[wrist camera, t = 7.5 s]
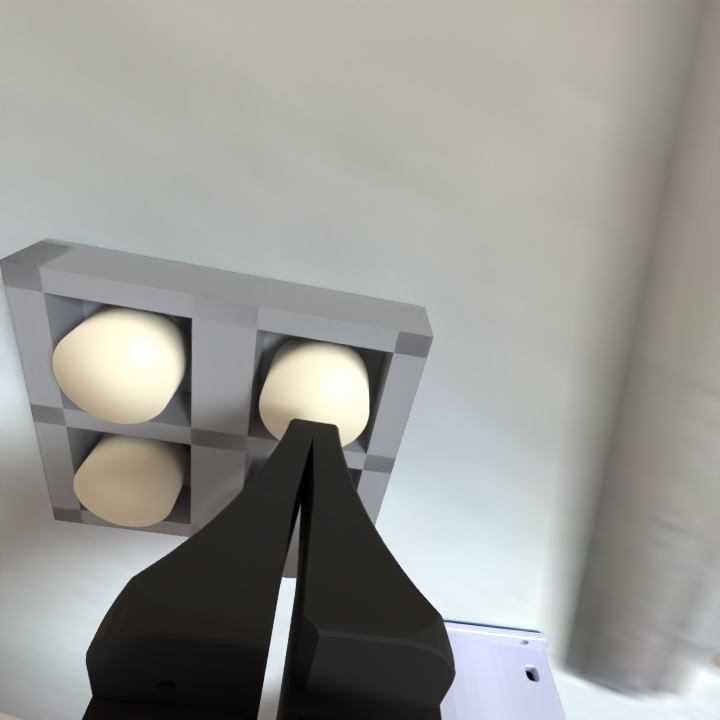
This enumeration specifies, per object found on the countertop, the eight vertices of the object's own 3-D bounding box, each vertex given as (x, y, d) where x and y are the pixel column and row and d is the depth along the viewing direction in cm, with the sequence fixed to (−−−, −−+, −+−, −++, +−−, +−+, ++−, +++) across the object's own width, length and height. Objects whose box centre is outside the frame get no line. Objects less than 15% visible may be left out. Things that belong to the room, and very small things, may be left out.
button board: (424, 307, 16) (433, 336, 14) (364, 517, 22) (364, 559, 20) (46, 238, 15) (-1, 260, 13) (84, 478, 21) (55, 519, 19)
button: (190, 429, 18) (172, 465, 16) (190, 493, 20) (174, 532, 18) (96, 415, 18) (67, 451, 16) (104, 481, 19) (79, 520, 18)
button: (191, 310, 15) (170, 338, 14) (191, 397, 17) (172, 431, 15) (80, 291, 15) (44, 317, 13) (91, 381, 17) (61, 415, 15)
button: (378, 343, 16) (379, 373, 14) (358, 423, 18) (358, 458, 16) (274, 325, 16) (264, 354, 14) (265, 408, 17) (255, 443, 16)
